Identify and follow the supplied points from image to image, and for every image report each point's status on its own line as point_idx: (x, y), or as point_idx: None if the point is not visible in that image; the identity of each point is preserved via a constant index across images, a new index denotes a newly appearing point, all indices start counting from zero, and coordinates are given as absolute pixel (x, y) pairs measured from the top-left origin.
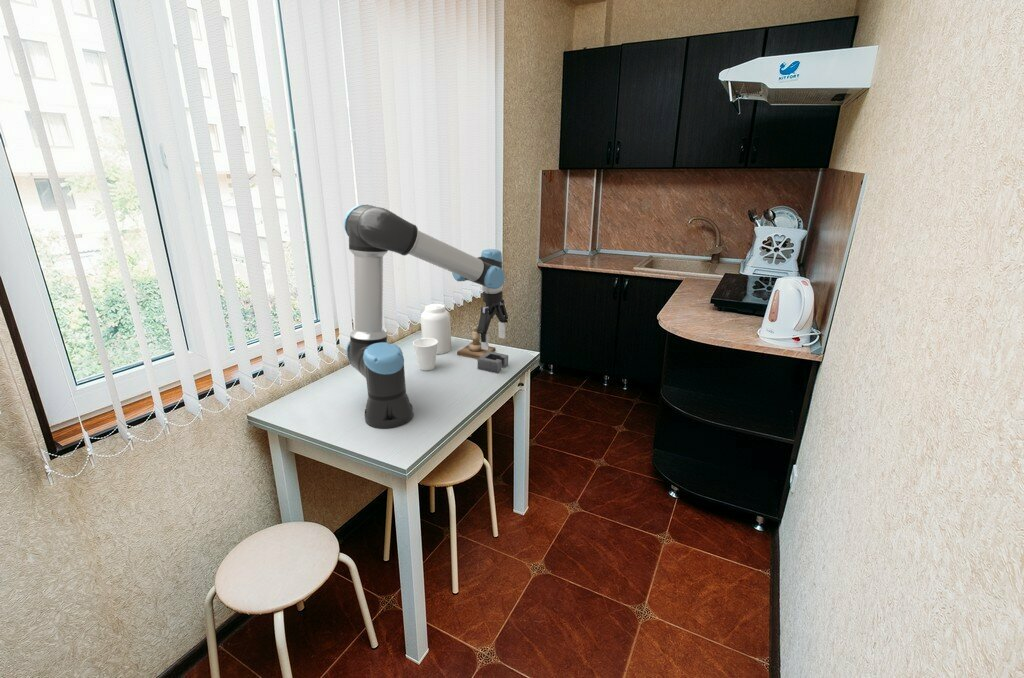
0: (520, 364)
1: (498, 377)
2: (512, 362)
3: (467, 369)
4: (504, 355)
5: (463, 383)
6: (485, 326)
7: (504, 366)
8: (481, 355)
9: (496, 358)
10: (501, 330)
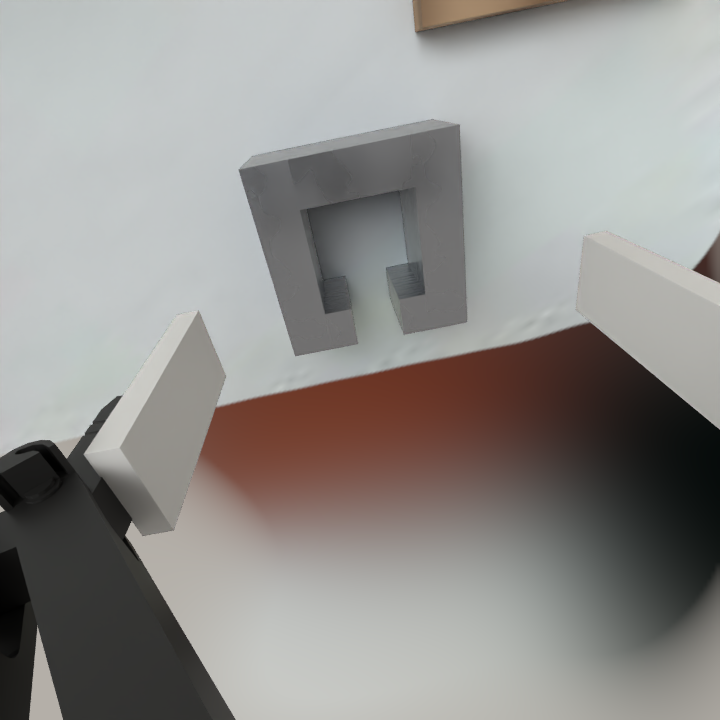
0: (496, 332)
1: (261, 354)
2: (501, 277)
3: (182, 82)
4: (444, 305)
5: (9, 252)
6: (27, 707)
7: (392, 304)
8: (452, 3)
9: (413, 238)
10: (641, 318)
